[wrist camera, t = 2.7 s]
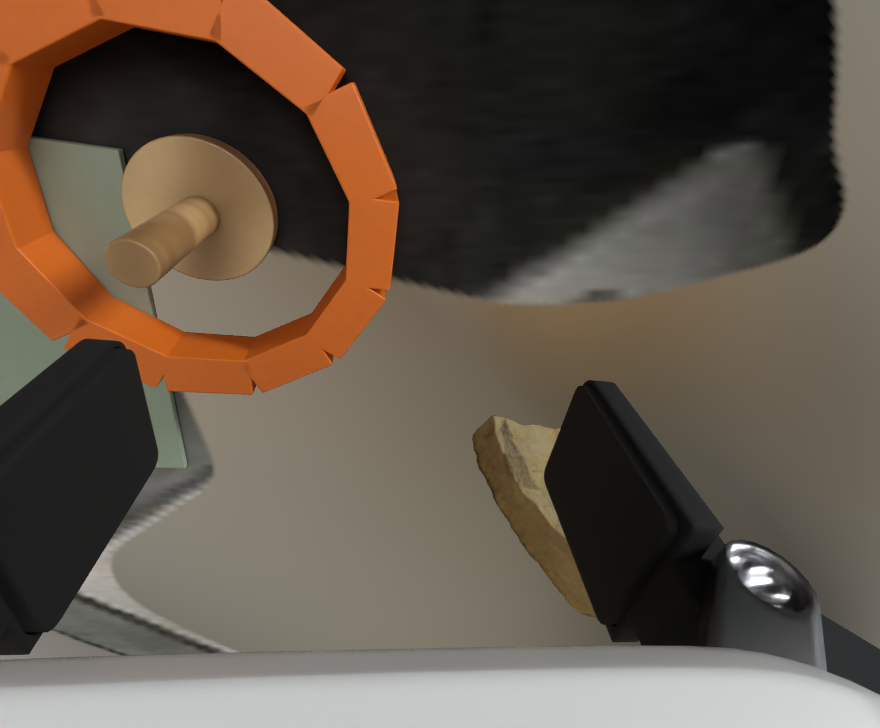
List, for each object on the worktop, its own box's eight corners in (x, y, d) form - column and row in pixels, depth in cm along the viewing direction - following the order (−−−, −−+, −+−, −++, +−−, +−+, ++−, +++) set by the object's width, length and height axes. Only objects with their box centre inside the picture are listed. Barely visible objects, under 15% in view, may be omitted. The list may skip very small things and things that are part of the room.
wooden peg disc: (147, 265, 20) (52, 339, 15) (117, 121, 17) (-19, 142, 11) (280, 279, 21) (241, 354, 16) (276, 145, 18) (225, 176, 13)
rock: (426, 469, 26) (502, 564, 30) (527, 520, 19) (609, 636, 23) (530, 354, 31) (585, 451, 34) (646, 362, 23) (698, 483, 27)
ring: (47, 357, 22) (14, 384, 20) (-118, -100, 13) (-204, -132, 11) (377, 375, 25) (378, 400, 23) (413, 17, 17) (419, 8, 15)
